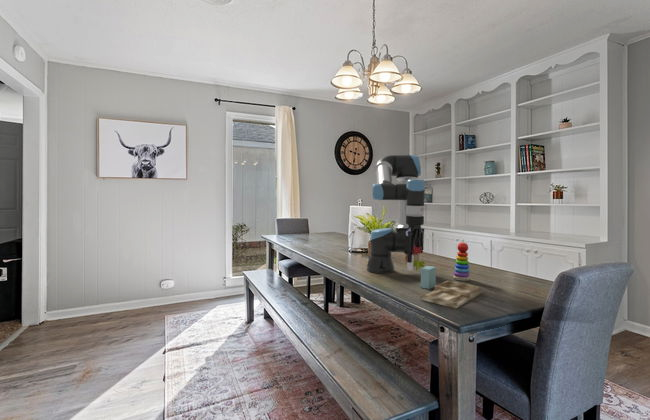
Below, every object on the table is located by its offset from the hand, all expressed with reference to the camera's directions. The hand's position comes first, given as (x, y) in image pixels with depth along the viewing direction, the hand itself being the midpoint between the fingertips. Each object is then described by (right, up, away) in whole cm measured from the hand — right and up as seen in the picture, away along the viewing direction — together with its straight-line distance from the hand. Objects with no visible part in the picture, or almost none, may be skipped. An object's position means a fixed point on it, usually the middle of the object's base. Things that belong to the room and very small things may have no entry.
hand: (413, 268), depth 150 cm
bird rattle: (0, -1, 0) cm, 1 cm away
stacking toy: (+30, -10, +24) cm, 40 cm away
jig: (+15, -11, -4) cm, 19 cm away
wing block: (+9, -10, +10) cm, 17 cm away
